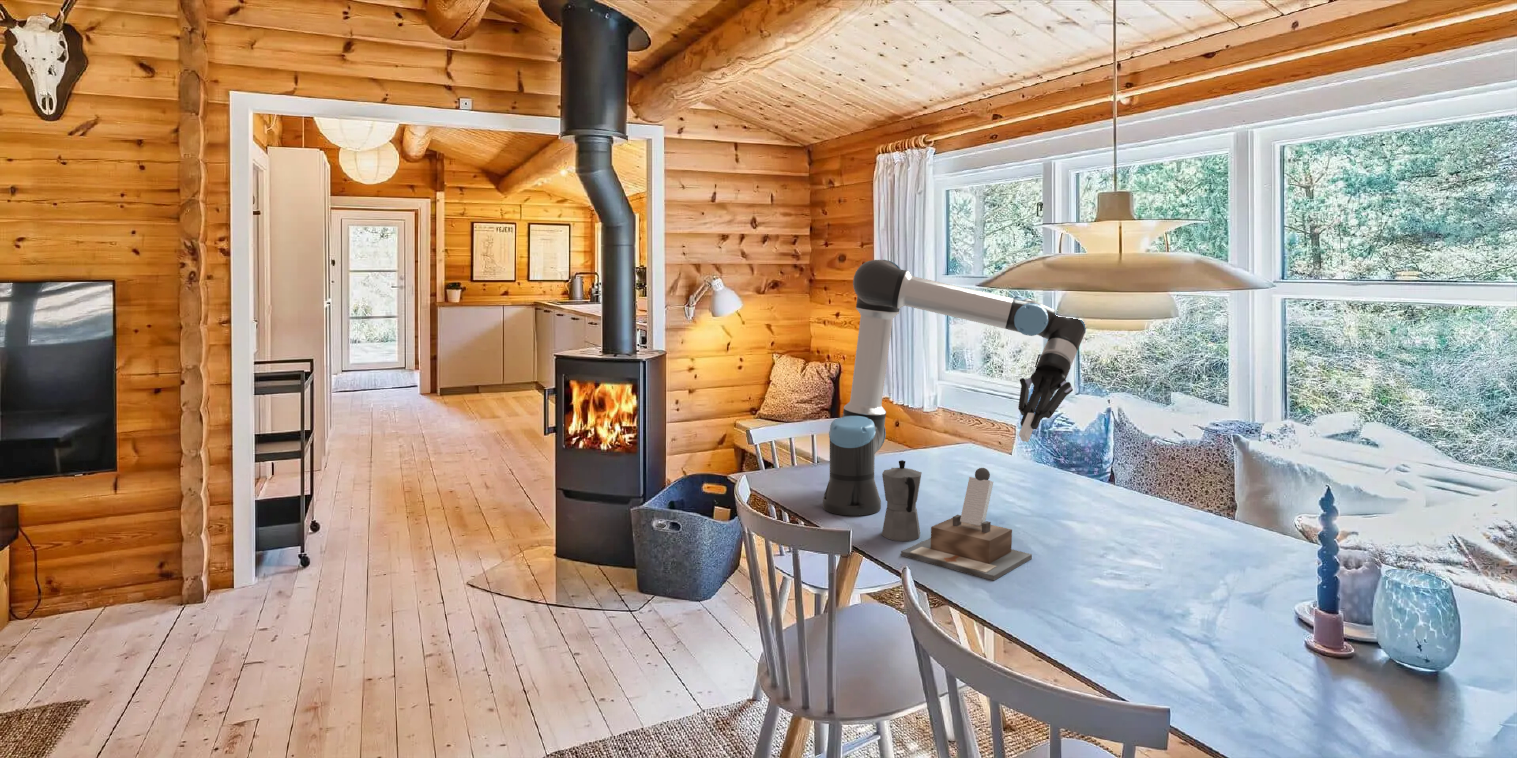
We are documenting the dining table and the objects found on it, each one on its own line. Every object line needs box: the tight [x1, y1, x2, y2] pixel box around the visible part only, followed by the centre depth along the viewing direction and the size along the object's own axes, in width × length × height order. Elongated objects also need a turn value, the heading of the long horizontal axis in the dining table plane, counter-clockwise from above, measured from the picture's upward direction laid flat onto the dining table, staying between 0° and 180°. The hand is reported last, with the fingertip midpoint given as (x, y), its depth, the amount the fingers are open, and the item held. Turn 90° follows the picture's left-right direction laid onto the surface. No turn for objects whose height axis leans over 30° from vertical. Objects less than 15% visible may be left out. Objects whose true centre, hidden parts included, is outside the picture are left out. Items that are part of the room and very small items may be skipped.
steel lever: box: [960, 467, 994, 527], centre depth 181 cm, size 5×3×13 cm, turn 47°
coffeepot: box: [881, 459, 922, 542], centre depth 193 cm, size 15×9×18 cm, turn 6°
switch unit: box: [900, 514, 1033, 581], centre depth 179 cm, size 22×17×8 cm
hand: (1023, 438), depth 195 cm, fingers closed
